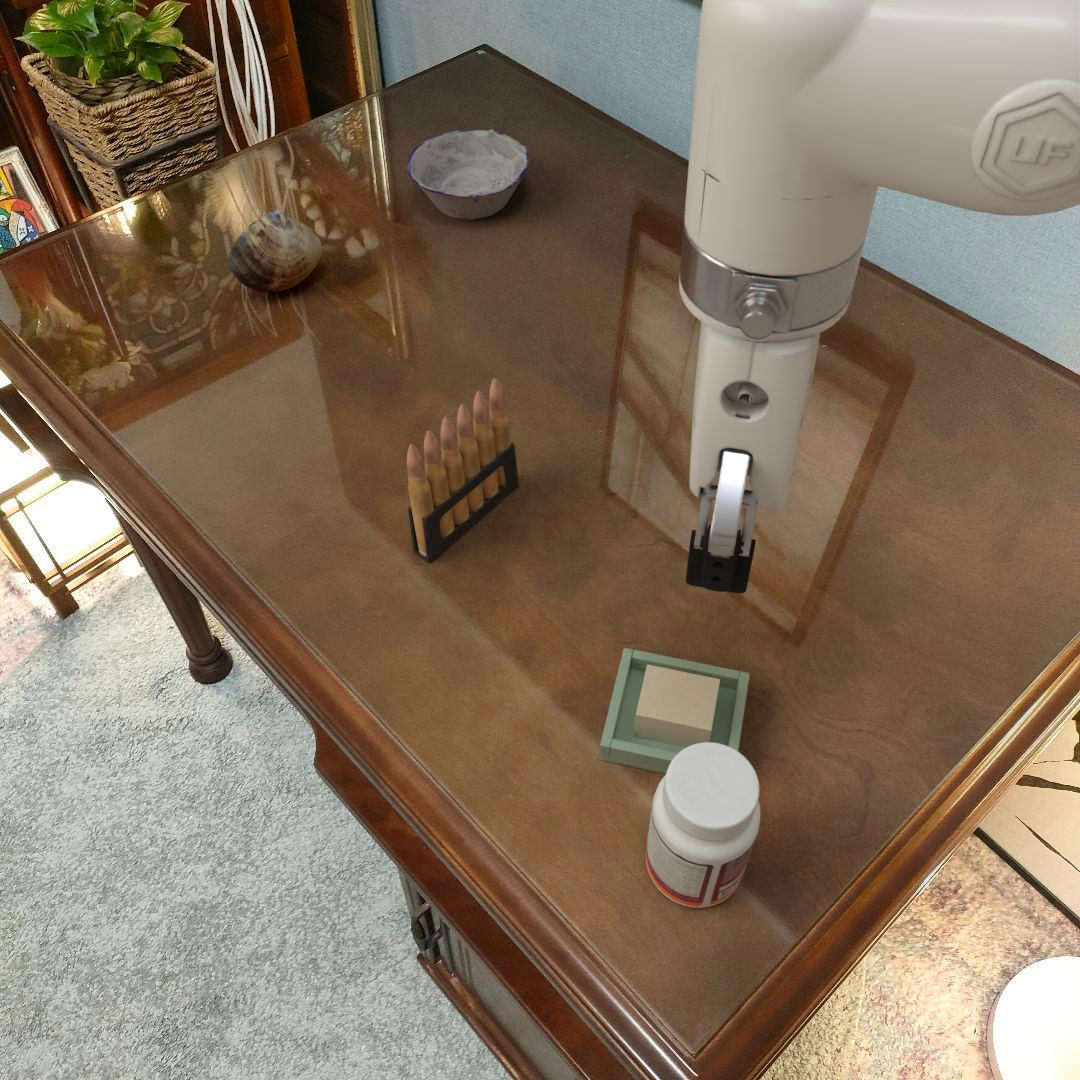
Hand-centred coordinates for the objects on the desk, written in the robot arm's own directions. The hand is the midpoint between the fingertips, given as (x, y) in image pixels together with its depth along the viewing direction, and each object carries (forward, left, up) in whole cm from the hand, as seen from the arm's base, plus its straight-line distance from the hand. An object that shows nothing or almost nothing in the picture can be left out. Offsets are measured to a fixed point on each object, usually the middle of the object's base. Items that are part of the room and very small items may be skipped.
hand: (727, 517), depth 57 cm
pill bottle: (-2, +12, -19) cm, 23 cm away
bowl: (+33, -56, -19) cm, 68 cm away
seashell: (+47, -37, -19) cm, 63 cm away
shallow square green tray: (+1, +3, -19) cm, 19 cm away
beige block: (+1, +3, -19) cm, 19 cm away
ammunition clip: (+20, -12, -19) cm, 30 cm away
